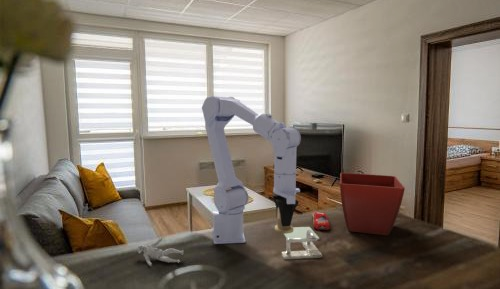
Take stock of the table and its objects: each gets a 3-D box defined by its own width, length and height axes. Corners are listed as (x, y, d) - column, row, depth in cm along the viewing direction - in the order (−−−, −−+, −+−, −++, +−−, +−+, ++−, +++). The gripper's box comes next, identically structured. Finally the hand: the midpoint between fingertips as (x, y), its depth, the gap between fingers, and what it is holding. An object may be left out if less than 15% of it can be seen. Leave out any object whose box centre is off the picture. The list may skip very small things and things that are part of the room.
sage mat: (287, 240, 97) (287, 239, 97) (280, 228, 106) (280, 227, 106) (319, 239, 98) (319, 238, 98) (309, 227, 108) (309, 226, 108)
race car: (330, 232, 105) (330, 220, 104) (313, 231, 105) (313, 219, 105) (326, 219, 118) (326, 208, 117) (311, 218, 118) (312, 208, 118)
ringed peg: (276, 233, 82) (277, 211, 82) (273, 227, 87) (273, 205, 87) (295, 233, 83) (295, 210, 82) (290, 226, 88) (291, 205, 87)
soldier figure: (174, 273, 79) (129, 257, 79) (174, 278, 82) (131, 263, 83) (186, 244, 83) (143, 229, 84) (186, 250, 87) (145, 235, 87)
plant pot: (402, 241, 97) (405, 187, 95) (337, 234, 102) (339, 183, 101) (393, 221, 115) (395, 175, 114) (338, 216, 121) (340, 172, 119)
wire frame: (284, 259, 84) (284, 241, 84) (277, 245, 93) (277, 229, 93) (322, 257, 86) (322, 239, 85) (311, 243, 94) (312, 227, 94)
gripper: (308, 178, 77) (306, 232, 78) (292, 168, 91) (292, 214, 92) (279, 178, 76) (278, 233, 77) (268, 168, 90) (268, 214, 92)
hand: (284, 223), depth 85 cm, fingers closed on ringed peg, 4 cm apart
